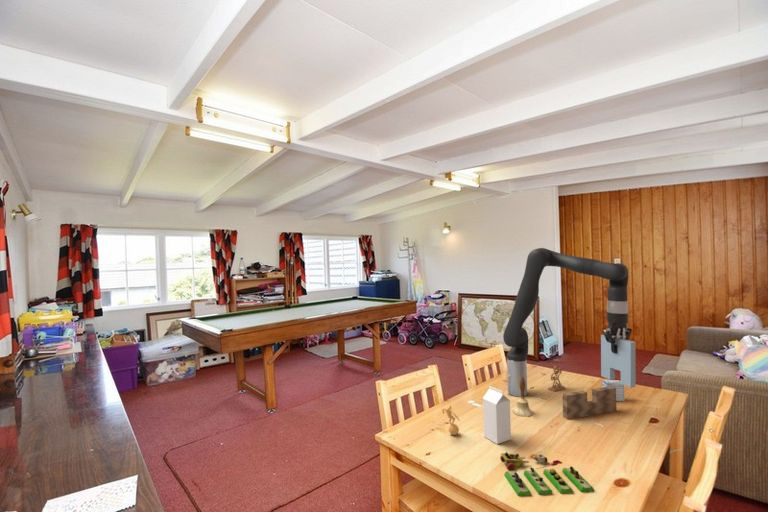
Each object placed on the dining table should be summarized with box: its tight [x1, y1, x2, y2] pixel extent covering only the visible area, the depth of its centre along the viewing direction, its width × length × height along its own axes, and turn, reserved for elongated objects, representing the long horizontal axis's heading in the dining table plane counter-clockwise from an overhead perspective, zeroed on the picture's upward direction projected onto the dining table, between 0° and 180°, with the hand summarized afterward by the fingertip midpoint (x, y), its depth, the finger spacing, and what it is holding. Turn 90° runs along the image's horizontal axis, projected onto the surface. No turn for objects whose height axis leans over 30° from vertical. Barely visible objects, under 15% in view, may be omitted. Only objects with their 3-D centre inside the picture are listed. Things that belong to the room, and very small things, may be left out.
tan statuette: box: [547, 365, 566, 393], centre depth 190 cm, size 9×4×12 cm, turn 120°
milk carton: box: [482, 385, 512, 445], centre depth 141 cm, size 7×7×19 cm
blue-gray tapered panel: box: [600, 334, 637, 389], centre depth 154 cm, size 14×2×18 cm, turn 16°
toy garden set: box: [499, 451, 595, 497], centre depth 118 cm, size 23×19×5 cm
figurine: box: [441, 404, 460, 436], centre depth 145 cm, size 8×6×12 cm
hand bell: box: [512, 376, 534, 417], centre depth 163 cm, size 8×8×16 cm
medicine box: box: [601, 379, 625, 402], centre depth 175 cm, size 8×4×9 cm, turn 84°
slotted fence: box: [562, 386, 617, 420], centre depth 160 cm, size 26×2×10 cm, turn 105°
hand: (617, 352), depth 154 cm, fingers closed on blue-gray tapered panel, 2 cm apart
